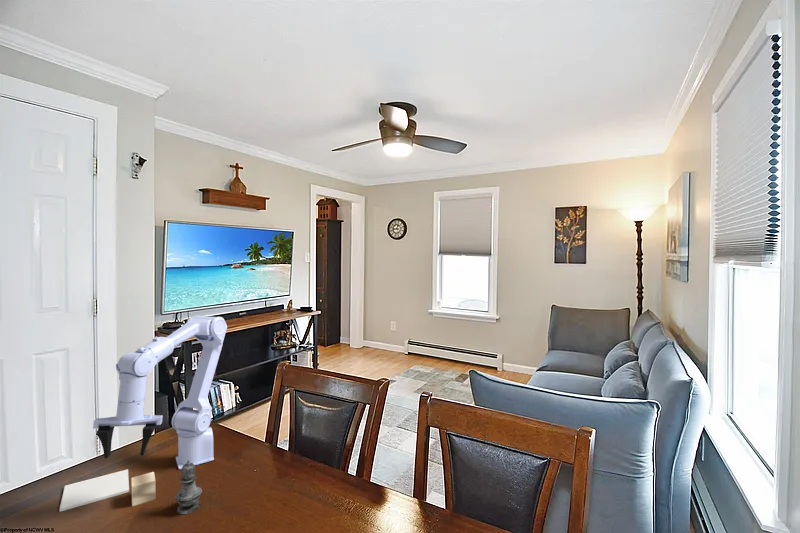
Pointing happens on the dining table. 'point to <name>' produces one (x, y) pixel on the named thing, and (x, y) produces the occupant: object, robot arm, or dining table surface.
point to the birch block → (143, 488)
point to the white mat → (94, 490)
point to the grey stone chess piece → (188, 490)
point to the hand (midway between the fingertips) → (125, 455)
